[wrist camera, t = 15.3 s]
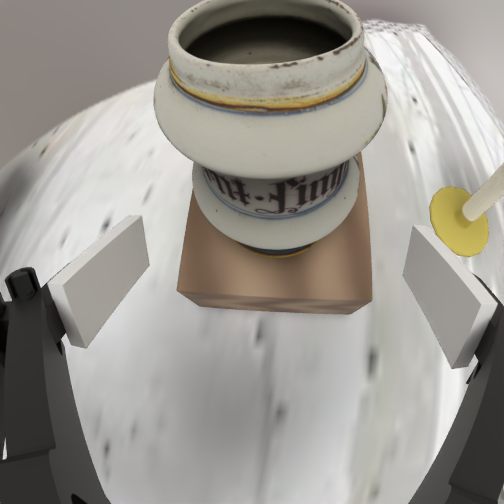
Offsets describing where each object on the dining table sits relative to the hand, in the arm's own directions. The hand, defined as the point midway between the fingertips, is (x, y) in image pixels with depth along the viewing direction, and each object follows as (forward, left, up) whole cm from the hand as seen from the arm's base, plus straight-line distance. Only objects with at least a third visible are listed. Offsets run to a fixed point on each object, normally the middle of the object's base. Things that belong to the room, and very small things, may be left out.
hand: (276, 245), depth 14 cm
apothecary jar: (0, +8, -11) cm, 13 cm away
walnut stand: (0, +8, -19) cm, 20 cm away
